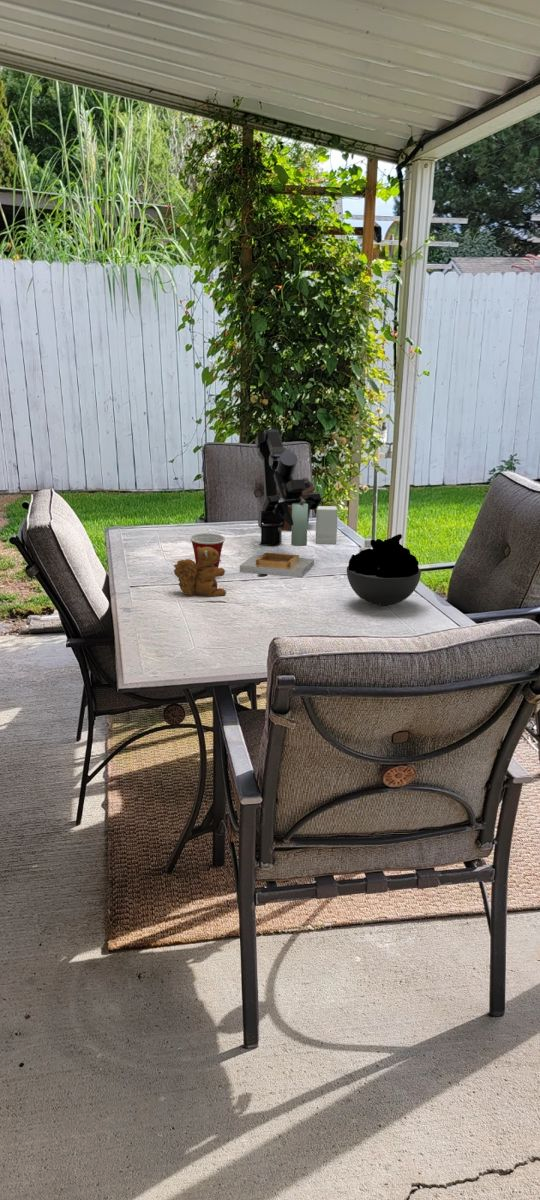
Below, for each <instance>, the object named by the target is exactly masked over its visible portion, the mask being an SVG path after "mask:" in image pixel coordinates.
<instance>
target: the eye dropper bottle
mask: <svg viewBox="0 0 540 1200" xmlns="http://www.w3.org/2000/svg"><path fill="white" fill-rule="evenodd" d="M371 540H373V539H372V538H371V534H368V535H367V537H366V538H364V544H363V546H361V547H359V551H358V553H359V552H360V551H362V550H365V549H373V548H372V546H371Z"/></svg>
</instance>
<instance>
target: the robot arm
mask: <svg viewBox="0 0 540 1200" xmlns="http://www.w3.org/2000/svg"><path fill="white" fill-rule="evenodd" d="M281 437H282V436H281V434H280V430H279V429H276V428H275V429H265V430H264V431H263V432H261V433H259V434H257V436H256V437H255V441H254V443H255V444H254V445H255V449H257V451H256V452H257V455H258V457H260V459H261V461H262V474H263V475H262V476H263V490H264V502H263V504H262V505H261V507H260V511H259V513H258V518H257V525H258V526H257V527H259V528H260V537H261V538H260V543H259V545H262V546H272V547H273V546H274V547H275V546H276V547H277V546H278V545H280V544H282V540H283V539H282V538H283V536H282V535H283V534H282V533H283V532H282V531H283V530H280V527H282V528H283V527H284V522H285V521H286V522H288V523H289V524H290V525H291V526H292V525H293V521H292V518H291V515H290V512H289V510H288V506H292V504H293V503H300V501H301V499H304V500H305V502H304V503H306V504H308V521H307V526H308V524H309V522H310V521H309V518H310V514H309V510H310V511H311V510H312V511H313V510H317V507H318V506H320V504H321V502H322V501H323V498H322V496H321V493H318V492H314V493H311V494H308V495H307V497H306V498H300V496H302V494H303V493H302V491H303V490H306V489H307V488H309V487H310V482H311V481H310V479H309V478H308V477H302V478H301V479H294V477H293V475H294V474H295V470H296V466H297V465H298V464H297V463H298V456H297V454H295V453H294V452H292V451H291V449H290V448H289V449H288V448H286V447H284V444H283V442H282V438H281ZM277 487H278V490H279V491H278V495H281V498H280V497H279V496H278V495H277Z"/></svg>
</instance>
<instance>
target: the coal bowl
mask: <svg viewBox="0 0 540 1200" xmlns="http://www.w3.org/2000/svg"><path fill="white" fill-rule="evenodd" d="M402 538H403V535H402V533H398V534H396V535H394V536H392V537H390V538H387V539H384V540H382V539H381V538H377V539H376V540H375V539H372V540H371V546H372V548H373V549H365V550H362V551H360V552H359V551H358V553H356V554H352V555H351V556H350V558H349V560H348V566H347V567H346V577H347V580H348V582H349V586H350V587H351V589H352V590H353V592H354V593H355V594H356V595H357V596H358V598H360V599H361V600H363V601H365V602H366V603H368V604H371V605H374V606H378V607H389V606H394V605H397V604H399V603H401V602H404V601H405V600H407V598H409V597H410V596H411V595H412V594H413V592H414V591H415V590H416V588H417V587H418V585H419V582H420V579H421V576H422V570H421V569H420V567H419V564H420V562H419V560H418V559H417V557H416V556H415V555H414V554H411V550H410V548H409V549H408V548H406V547H404V546H403V545H402V544H400V542H401V539H402Z"/></svg>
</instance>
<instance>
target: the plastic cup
mask: <svg viewBox="0 0 540 1200" xmlns="http://www.w3.org/2000/svg"><path fill="white" fill-rule="evenodd" d="M189 540H190V542H191V545H192V548H193V554H194V562H195V563H196V565H197V564H198V552H197V548H198V547H200V548H202V547H211V548H213V549H215V550H216V551H217V552H218V554H219V557H220V558H221V555H222V551H223V550H222V548H223V545H224V542H225V541H226V537H225V536H224V535H221V534H219V533H214V532H213V533H212V532H199V533H194V534H192V535H191V536H189ZM220 560H221V559H220ZM220 560H219V559H218V561H217V562H216V563H214V564H213V565H214V567H217V568H219V566H220V563H221V562H220Z"/></svg>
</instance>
